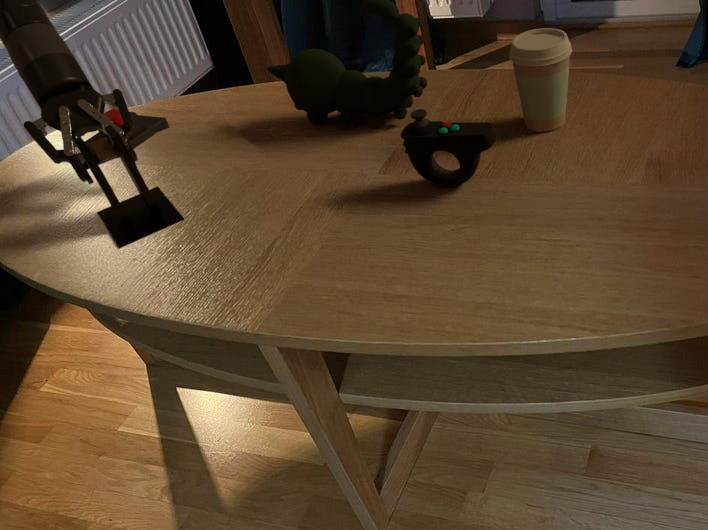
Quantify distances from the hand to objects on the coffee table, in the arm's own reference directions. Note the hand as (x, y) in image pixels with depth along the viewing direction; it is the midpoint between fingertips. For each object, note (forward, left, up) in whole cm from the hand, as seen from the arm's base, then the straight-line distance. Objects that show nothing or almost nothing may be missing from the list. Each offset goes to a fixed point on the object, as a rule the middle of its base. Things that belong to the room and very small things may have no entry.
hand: (112, 172), depth 99 cm
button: (+14, +14, -1) cm, 20 cm away
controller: (+14, -47, -5) cm, 50 cm away
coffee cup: (+32, -53, -5) cm, 62 cm away
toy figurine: (+28, -23, -5) cm, 37 cm away
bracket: (-4, -7, -5) cm, 9 cm away
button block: (+14, +14, -5) cm, 21 cm away
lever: (-2, -4, +3) cm, 5 cm away
